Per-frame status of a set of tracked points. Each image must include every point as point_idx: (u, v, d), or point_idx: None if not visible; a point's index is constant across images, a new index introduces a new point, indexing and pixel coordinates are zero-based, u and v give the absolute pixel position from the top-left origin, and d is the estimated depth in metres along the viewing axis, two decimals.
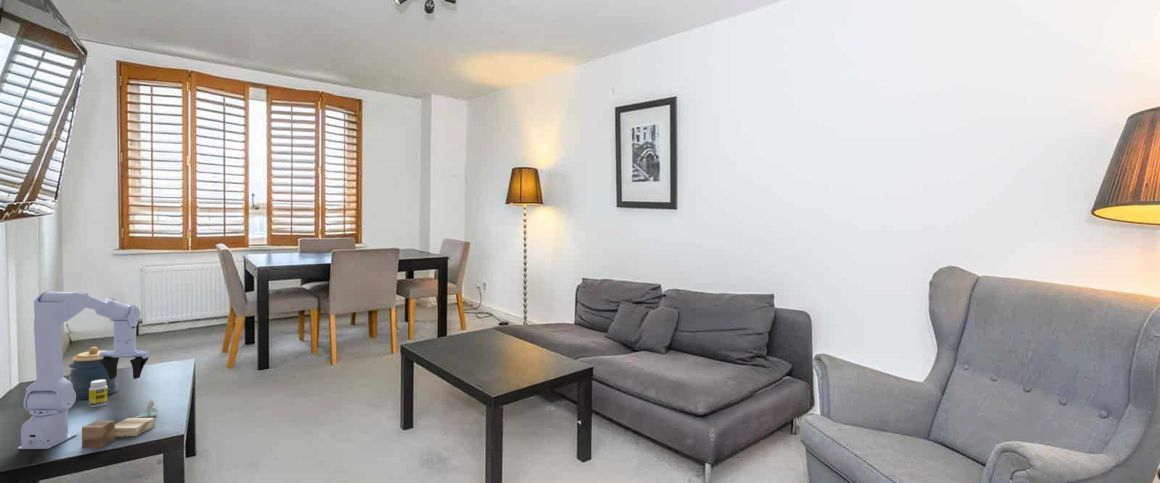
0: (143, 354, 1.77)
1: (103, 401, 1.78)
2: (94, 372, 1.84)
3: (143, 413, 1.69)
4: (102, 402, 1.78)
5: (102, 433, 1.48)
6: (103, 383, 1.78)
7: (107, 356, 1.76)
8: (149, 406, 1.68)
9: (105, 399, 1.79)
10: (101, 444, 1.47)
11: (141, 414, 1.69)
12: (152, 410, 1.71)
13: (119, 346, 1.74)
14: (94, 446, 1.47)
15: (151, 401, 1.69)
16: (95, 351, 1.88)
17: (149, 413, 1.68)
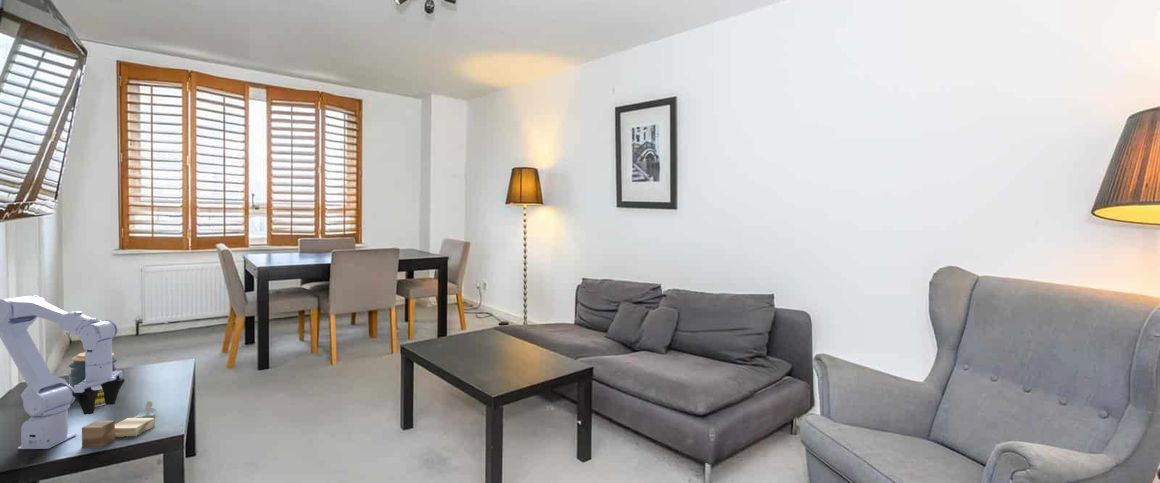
0: None
1: (103, 401, 1.78)
2: None
3: (141, 413, 1.69)
4: (102, 402, 1.78)
5: (102, 433, 1.48)
6: None
7: None
8: (147, 406, 1.67)
9: None
10: (101, 444, 1.47)
11: (139, 414, 1.69)
12: (151, 410, 1.71)
13: None
14: (94, 446, 1.47)
15: (149, 401, 1.68)
16: None
17: (147, 413, 1.68)
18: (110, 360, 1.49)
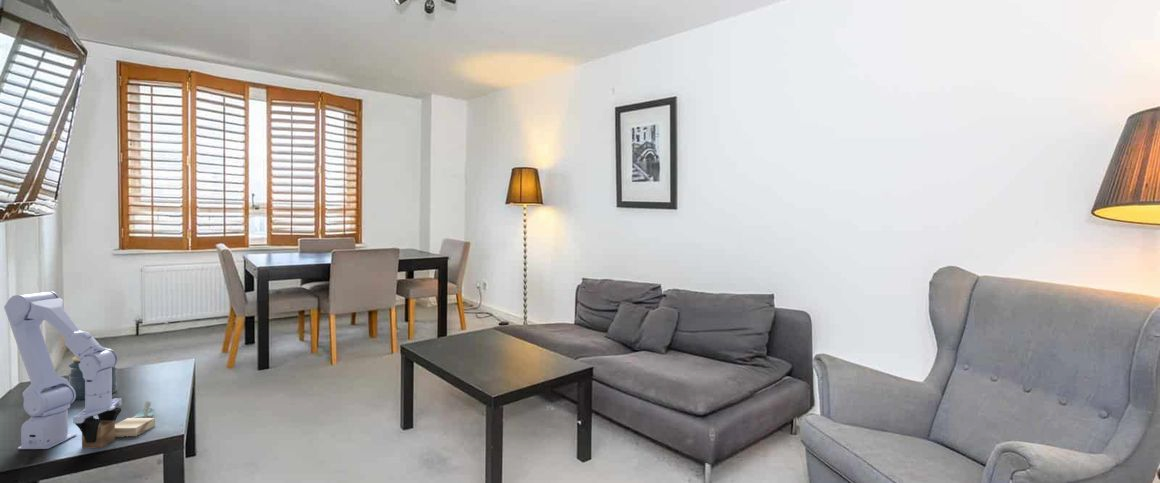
0: None
1: None
2: None
3: (140, 413, 1.69)
4: None
5: (102, 433, 1.48)
6: None
7: None
8: (146, 406, 1.67)
9: None
10: (101, 444, 1.47)
11: (138, 414, 1.68)
12: (149, 410, 1.71)
13: None
14: (94, 446, 1.47)
15: (148, 401, 1.68)
16: None
17: (146, 413, 1.68)
18: (110, 389, 1.50)
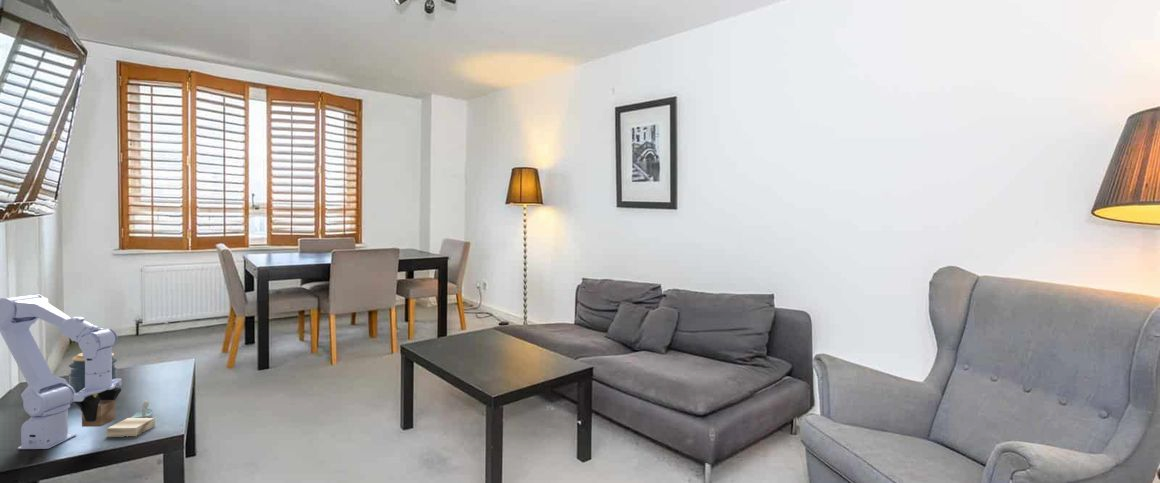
0: None
1: None
2: None
3: (138, 414, 1.69)
4: None
5: (102, 412, 1.47)
6: None
7: None
8: (144, 407, 1.67)
9: None
10: (101, 423, 1.47)
11: (136, 415, 1.68)
12: (147, 411, 1.71)
13: None
14: (94, 425, 1.47)
15: (146, 402, 1.68)
16: None
17: (144, 414, 1.67)
18: (110, 368, 1.49)
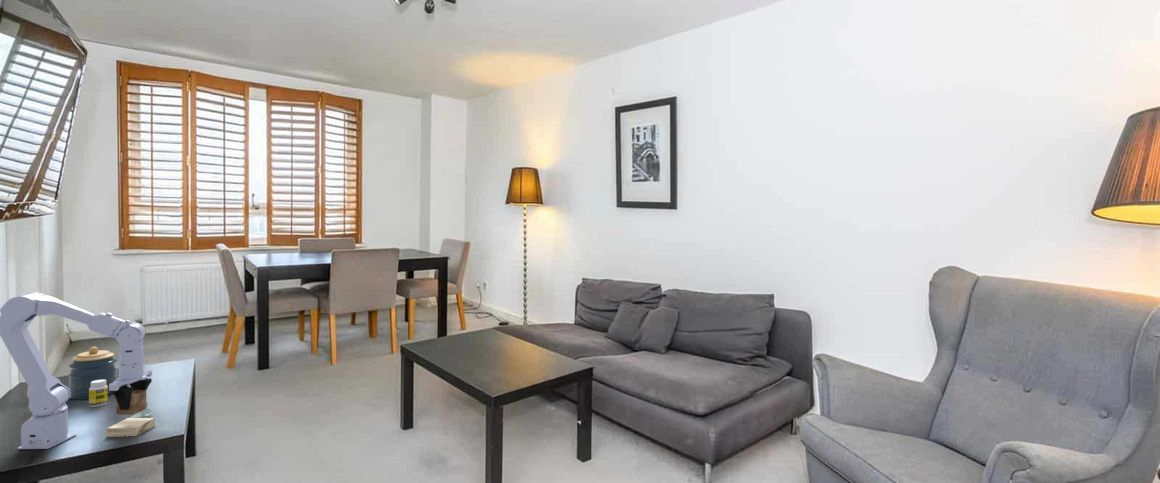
0: None
1: (103, 401, 1.78)
2: (94, 372, 1.84)
3: (137, 414, 1.69)
4: (102, 402, 1.78)
5: (135, 401, 1.57)
6: (103, 383, 1.78)
7: None
8: None
9: (105, 399, 1.79)
10: (134, 411, 1.56)
11: (135, 415, 1.68)
12: (146, 411, 1.71)
13: None
14: (128, 413, 1.56)
15: None
16: (95, 351, 1.88)
17: (143, 414, 1.67)
18: (143, 359, 1.60)
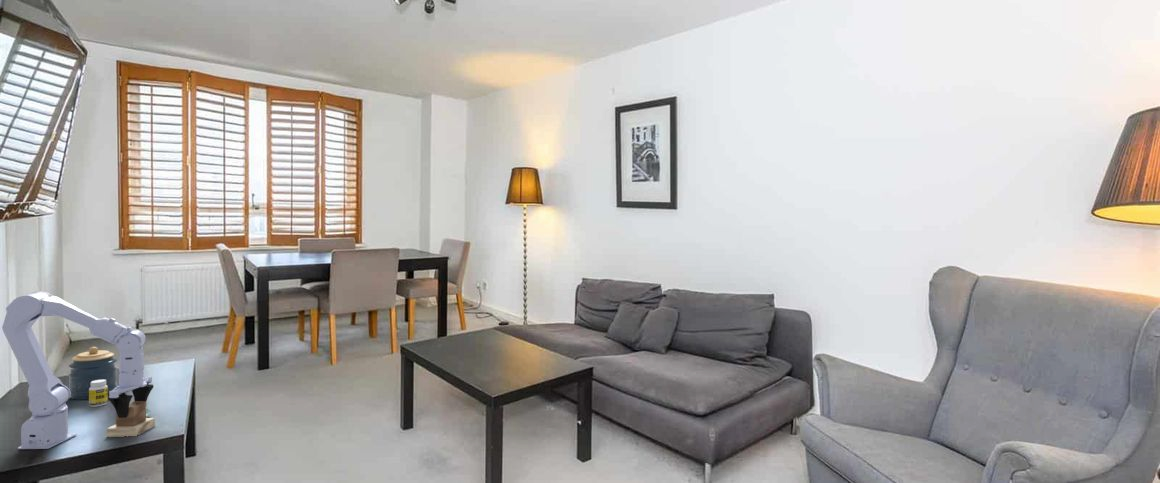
0: None
1: (103, 401, 1.78)
2: (94, 372, 1.84)
3: None
4: (102, 402, 1.78)
5: (135, 413, 1.57)
6: (103, 383, 1.78)
7: None
8: None
9: (105, 399, 1.79)
10: (134, 423, 1.56)
11: None
12: None
13: None
14: (127, 425, 1.56)
15: None
16: (95, 351, 1.88)
17: None
18: (143, 366, 1.60)
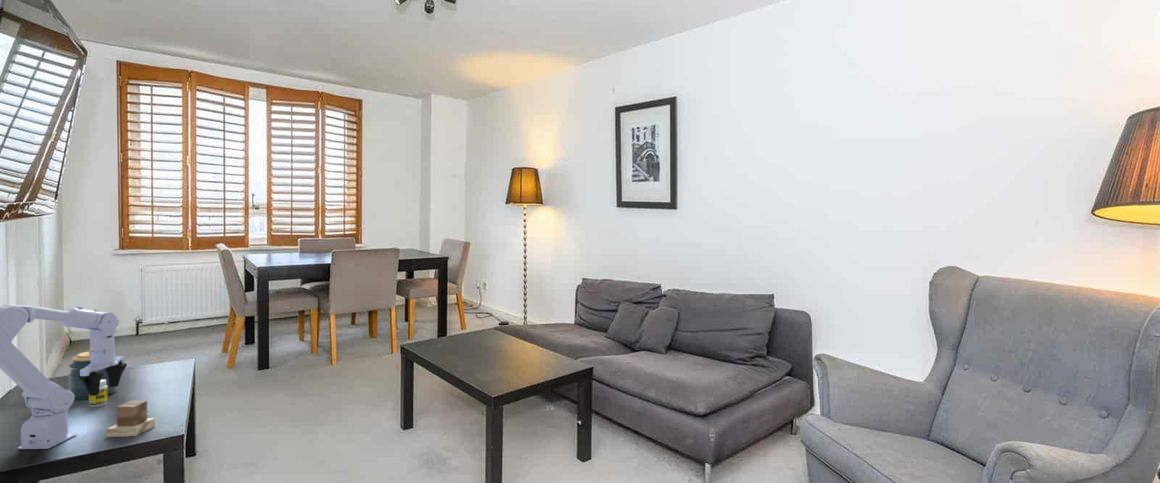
0: None
1: (103, 401, 1.78)
2: None
3: None
4: (102, 402, 1.78)
5: (135, 412, 1.57)
6: (103, 383, 1.78)
7: None
8: None
9: (105, 399, 1.79)
10: (134, 423, 1.57)
11: None
12: None
13: None
14: (128, 424, 1.57)
15: None
16: None
17: None
18: None
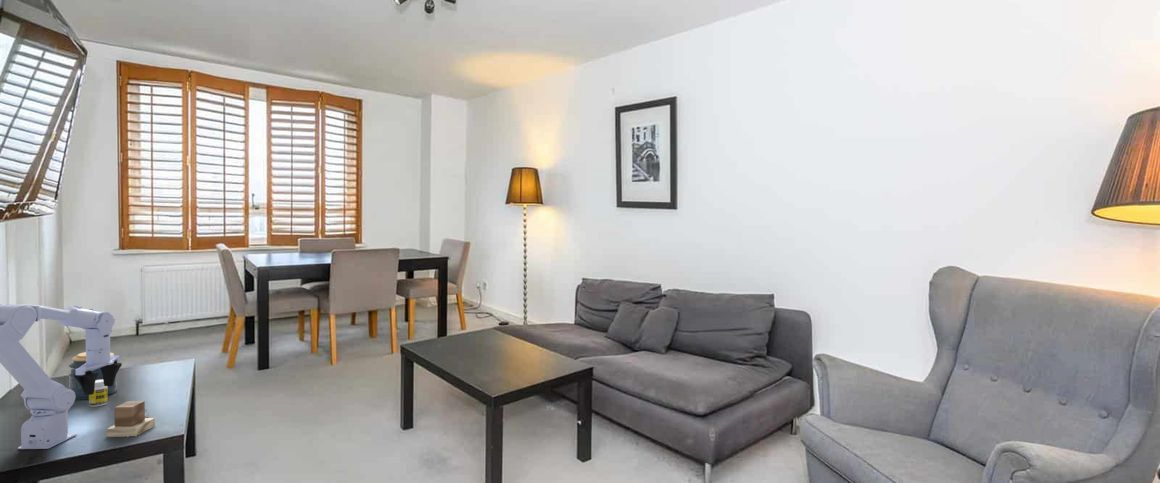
0: None
1: (103, 401, 1.78)
2: (94, 372, 1.84)
3: None
4: (102, 402, 1.78)
5: (133, 413, 1.57)
6: (103, 383, 1.78)
7: None
8: None
9: (105, 399, 1.79)
10: (132, 423, 1.56)
11: None
12: None
13: None
14: (126, 425, 1.56)
15: None
16: None
17: None
18: None
